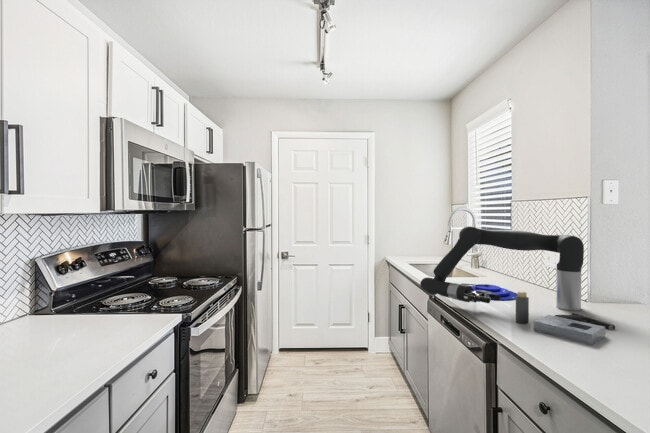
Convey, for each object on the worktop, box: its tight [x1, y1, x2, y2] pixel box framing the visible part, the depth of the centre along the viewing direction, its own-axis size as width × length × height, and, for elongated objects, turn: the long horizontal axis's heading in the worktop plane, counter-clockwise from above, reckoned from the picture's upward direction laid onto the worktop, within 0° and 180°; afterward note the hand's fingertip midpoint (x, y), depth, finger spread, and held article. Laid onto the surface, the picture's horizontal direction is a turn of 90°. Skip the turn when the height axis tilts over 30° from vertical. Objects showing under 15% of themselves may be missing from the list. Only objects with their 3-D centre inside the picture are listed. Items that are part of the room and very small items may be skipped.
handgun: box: [554, 312, 616, 330], centre depth 138 cm, size 2×16×12 cm
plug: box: [515, 290, 530, 325], centre depth 139 cm, size 4×4×12 cm
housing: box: [533, 314, 606, 346], centre depth 127 cm, size 13×18×4 cm
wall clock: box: [460, 283, 518, 302], centre depth 189 cm, size 30×6×30 cm
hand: (494, 299), depth 148 cm, fingers open, 8 cm apart
